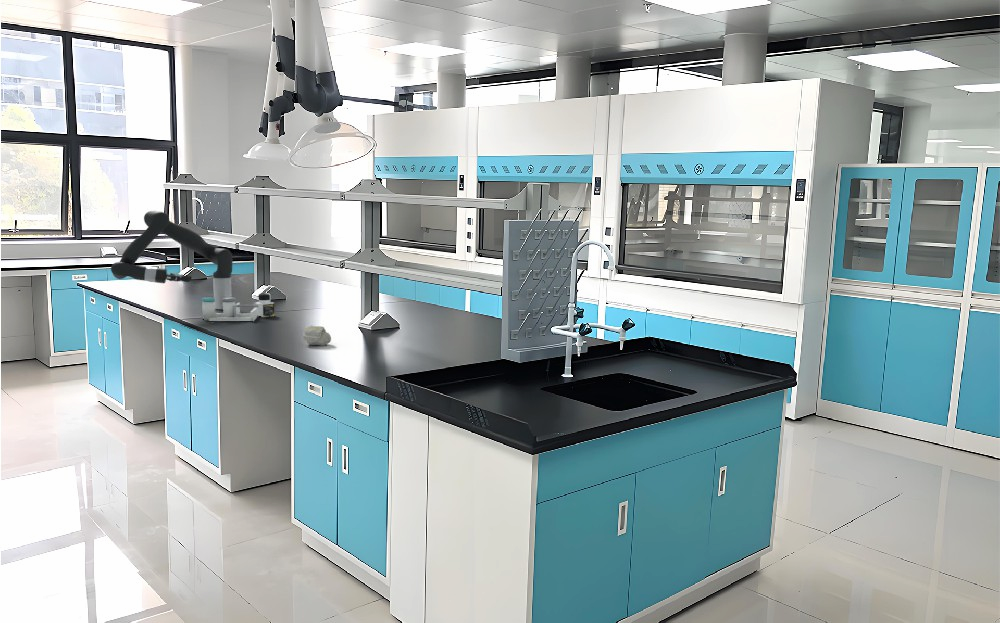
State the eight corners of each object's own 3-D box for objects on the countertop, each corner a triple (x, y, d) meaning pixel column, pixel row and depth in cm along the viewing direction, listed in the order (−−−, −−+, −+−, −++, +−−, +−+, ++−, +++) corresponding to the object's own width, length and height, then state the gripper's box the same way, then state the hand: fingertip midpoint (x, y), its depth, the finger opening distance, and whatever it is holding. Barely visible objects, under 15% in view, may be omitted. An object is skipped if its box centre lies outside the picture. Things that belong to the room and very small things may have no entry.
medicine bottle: (263, 317, 399) (262, 294, 397) (255, 315, 403) (254, 293, 401) (274, 315, 404) (274, 293, 403) (266, 314, 409) (266, 292, 407)
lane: (215, 316, 397) (215, 307, 396) (257, 316, 400) (257, 307, 400) (208, 322, 381) (208, 312, 381) (252, 322, 385) (252, 312, 384)
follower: (238, 317, 396) (237, 302, 395) (260, 317, 398) (259, 302, 396) (234, 321, 386) (234, 305, 385) (257, 321, 388) (256, 305, 387)
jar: (204, 318, 392) (203, 297, 390) (217, 318, 393) (216, 297, 391) (201, 320, 385) (200, 299, 384) (214, 320, 386) (213, 299, 385)
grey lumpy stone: (331, 347, 334) (329, 344, 343) (332, 328, 333) (330, 326, 343) (303, 346, 330) (301, 343, 339) (304, 327, 329) (302, 324, 339)
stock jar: (224, 318, 393) (223, 297, 391) (237, 318, 394) (236, 297, 392) (221, 320, 387) (221, 299, 385) (234, 320, 388) (234, 299, 386)
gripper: (154, 268, 372) (190, 272, 377) (158, 266, 386) (192, 271, 390) (152, 283, 373) (188, 287, 377) (156, 281, 386) (191, 285, 391)
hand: (190, 279), depth 384 cm, fingers open, 8 cm apart
